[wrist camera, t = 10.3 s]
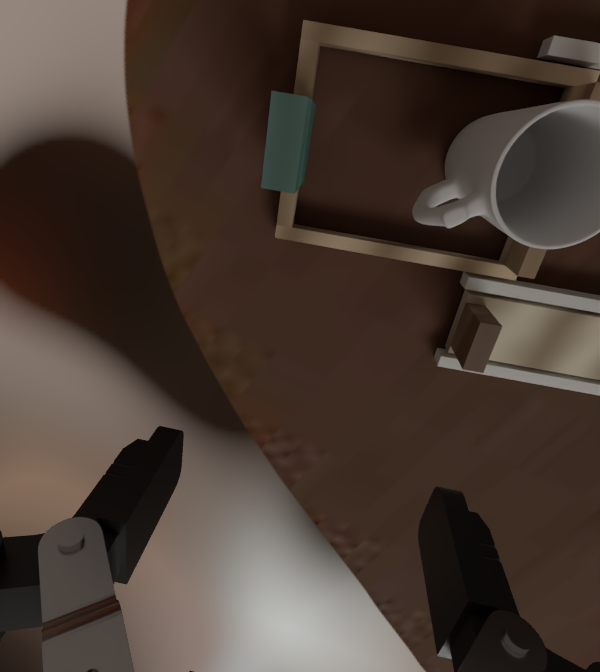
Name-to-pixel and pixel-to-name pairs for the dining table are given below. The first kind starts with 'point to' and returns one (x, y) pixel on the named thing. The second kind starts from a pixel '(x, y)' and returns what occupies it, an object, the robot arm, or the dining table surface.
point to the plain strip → (524, 335)
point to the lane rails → (570, 54)
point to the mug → (524, 175)
